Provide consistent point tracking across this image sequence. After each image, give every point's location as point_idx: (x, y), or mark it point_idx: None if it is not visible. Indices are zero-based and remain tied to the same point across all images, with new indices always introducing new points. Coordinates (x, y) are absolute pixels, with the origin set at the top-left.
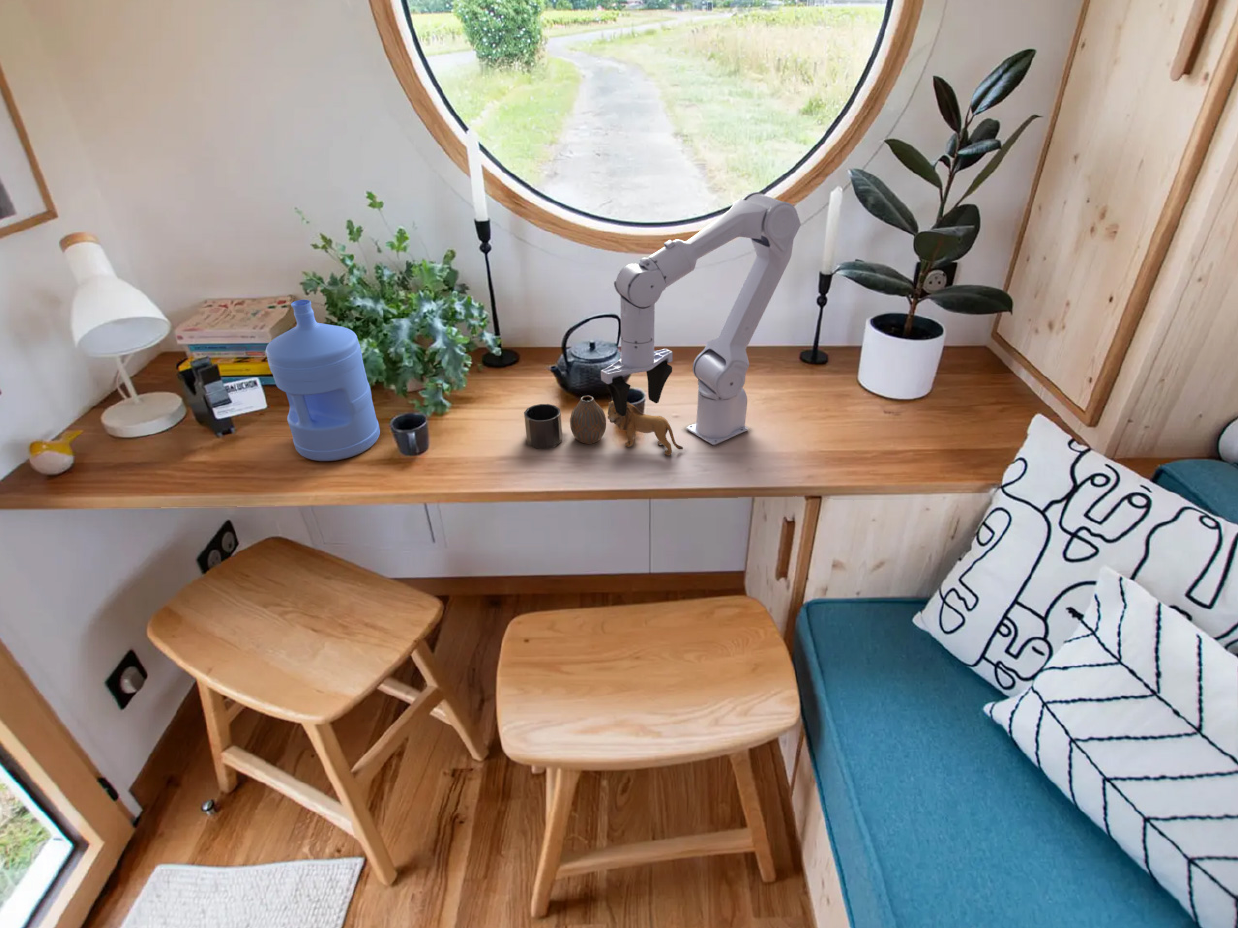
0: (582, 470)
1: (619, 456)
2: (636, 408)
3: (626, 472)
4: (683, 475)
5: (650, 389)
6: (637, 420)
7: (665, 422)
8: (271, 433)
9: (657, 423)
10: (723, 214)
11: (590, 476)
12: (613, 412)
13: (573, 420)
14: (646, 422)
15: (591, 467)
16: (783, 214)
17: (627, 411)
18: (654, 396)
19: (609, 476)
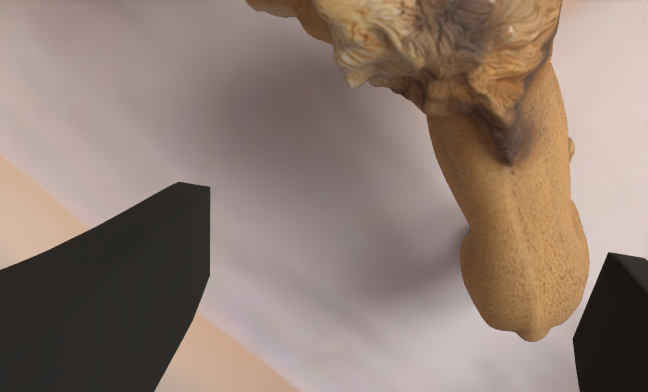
0: (35, 14)
1: (281, 63)
2: (501, 124)
3: (211, 190)
4: (386, 368)
5: (646, 355)
6: (441, 145)
7: (523, 337)
8: None
9: (478, 303)
10: None
11: (45, 87)
12: (289, 8)
13: None
14: (465, 210)
15: (90, 29)
16: None
17: (403, 93)
18: (596, 371)
19: (124, 154)
